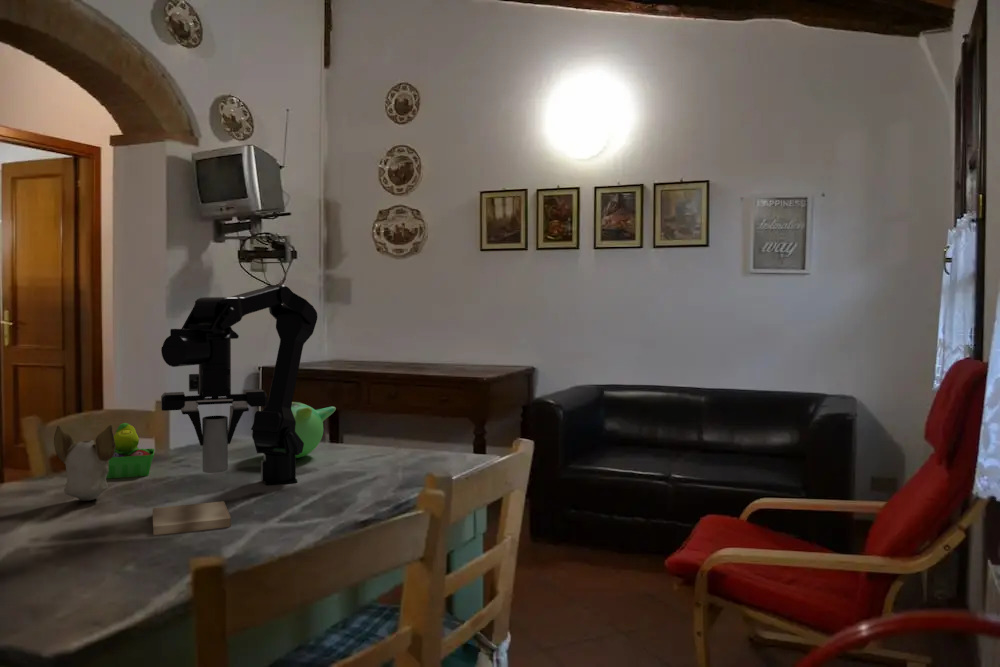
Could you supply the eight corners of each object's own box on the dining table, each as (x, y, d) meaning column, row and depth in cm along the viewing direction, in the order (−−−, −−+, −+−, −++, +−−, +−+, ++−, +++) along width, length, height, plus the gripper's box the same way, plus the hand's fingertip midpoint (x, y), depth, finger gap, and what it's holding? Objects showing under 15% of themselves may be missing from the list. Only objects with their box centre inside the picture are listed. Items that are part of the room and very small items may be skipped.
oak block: (223, 511, 138) (223, 501, 138) (231, 529, 127) (230, 518, 127) (152, 519, 133) (152, 508, 133) (153, 538, 122) (153, 526, 122)
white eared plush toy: (125, 495, 147) (124, 420, 146) (110, 507, 138) (109, 427, 138) (67, 497, 145) (66, 420, 145) (48, 509, 137) (47, 428, 136)
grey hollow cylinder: (219, 473, 140) (219, 419, 140) (197, 472, 141) (197, 418, 141) (232, 468, 145) (232, 416, 144) (211, 467, 146) (211, 415, 145)
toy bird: (275, 450, 195) (275, 394, 194) (337, 452, 192) (337, 395, 192) (242, 464, 177) (242, 402, 176) (310, 467, 174) (310, 404, 174)
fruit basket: (94, 482, 158) (94, 429, 158) (98, 473, 166) (98, 423, 166) (154, 477, 163) (153, 426, 162) (155, 469, 171) (154, 420, 170)
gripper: (259, 359, 153) (260, 434, 154) (160, 361, 145) (160, 440, 146) (268, 363, 143) (268, 443, 144) (161, 365, 135) (162, 451, 136)
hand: (215, 444), depth 143 cm, fingers closed on grey hollow cylinder, 4 cm apart
